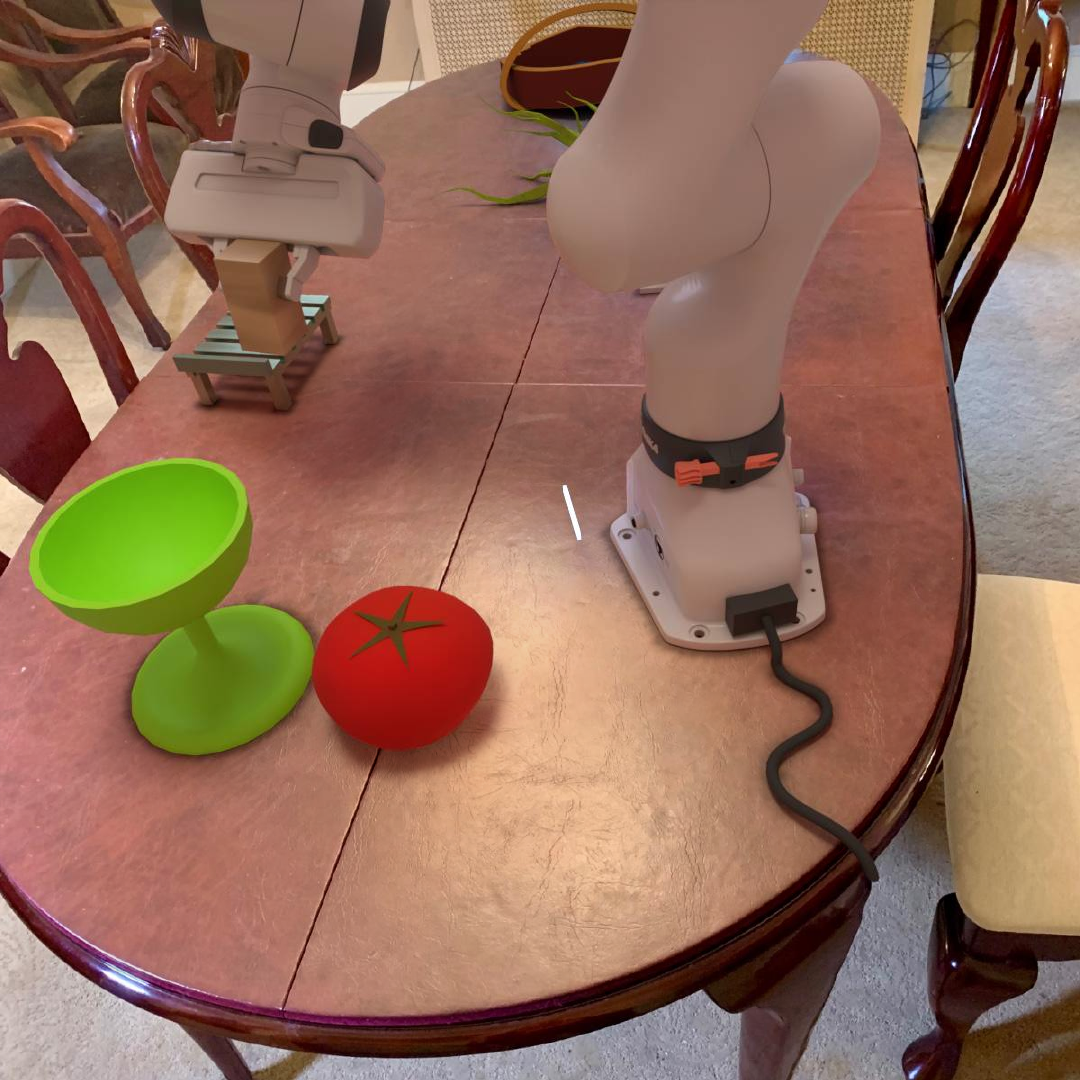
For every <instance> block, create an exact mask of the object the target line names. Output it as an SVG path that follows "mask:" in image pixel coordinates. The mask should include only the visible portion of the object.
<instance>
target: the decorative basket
mask: <svg viewBox="0 0 1080 1080" xmlns="http://www.w3.org/2000/svg"><path fill="white" fill-rule="evenodd" d="M637 8H638V5H635V4H630V3H625V2H612V1H611V2H610V1H606V2H605V1H604V2H603V1H602V2H592V3H585V4H581V5H576V6H573V7H570V8H566V9H564V10H561V11H558V12H556V13H554V14H552V15H550V16H548V17H546V18H544V19H542V20H540V21H539V22H537V23H536V24H534V25H532V27H530V28H529V29H528V30H527V31H525V32H524V33H523V34H522V35H521V36H520V37H519V39H518V40H517V41H516V42H515V43H514V44H513V46H512V47H511V49H510V50H509V52H508V54H507V56H506V57H505V58H502V59H500V60H499V65H500V76H499V88H500V89H499V90H500V92H501V95H502V97H503V99H504V100H505V102H506V104H507V105H509V106H510V107H511V108H513V109H515V110H516V111H521V110H524V111H533V110H539V109H546V110H547V109H548V110H549V109H566V108H570V107H572V108H577V107H585V106H588V105H587V104H585V103H583V102H581V101H578V100H576V99H574V98H578V99H581V100H585V101H587V102H589V103H591V104H592V105H596V104H597V105H598V104H600V103H601V102H602V100H603V98H604V96H605V94H606V92H607V90H608V88H609V86H610V84H611V81H612V79H613V77H614V75H615V72H616V70H617V68H618V65H619V63H620V60H621V58H622V55H623V53H624V50H625V47H626V45H627V42H628V39H629V36H630V33H631V30H632V27H633V26H627V25H625V26H624V25H611V24H610V25H609V24H589V23H588V24H587V23H586V24H585V23H583V24H582V23H579V24H578V23H577V24H573V25H570V26H568V27H566V28H563V29H560V30H558V31H555V32H552V33H550V34H548V35H545V36H542V37H540V38H538V39H536V40H534V41H530V40H531V39H532V38H533V37H535V35H536V34H538V33H539V32H540V31H542V30H543V29H545V28H546V27H549V26H550V25H552V24H555V23H556V22H558V21H560V20H564V19H565V18H569V17H573V16H576V15H580V14H586V13H593V12H619V13H620V12H621V13H626V14H631V15H635V16H636V12H637ZM528 42H529V43H528ZM566 91H567V92H568V93H569V94H570V95H571V96H572V97H574V98H572V97H571V96H570V95H569V94H568V93H567V92H566ZM557 101H559V102H557ZM560 102H561V103H560ZM562 103H564V104H562ZM565 104H567V105H568V106H570V107H568V106H567V105H565Z"/></svg>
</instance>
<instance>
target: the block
mask: <svg viewBox="0 0 1080 1080" xmlns="http://www.w3.org/2000/svg"><path fill="white" fill-rule="evenodd" d="M212 260H213V263H214V267H215V270H216V273H217V276H218V280H219V279H220V282H221V286H222V289H223V292H224V293H223V295H224V298H225V301H226V304H227V307H228V310H229V311H230V314H231V317H232V320H233V323H234V326H235V330H236V333H237V336H238V339H239V342H240V345H241V348H242V351H250V352H259V353H267V354H275V355H284V356H285V355H286V354H287V353H288V352H289V351H290V350H291V349H292V348H293V347H294V345H295V344H296V343H297V342H298V341H299V340H300V339H301V338H302V337H303V336H304V335H305V334H306V333H307V332H308V328H307V324H306V321H305V317H304V313H303V309H302V305H301V301H299V302H291V301H283V300H282V299H280V298H278V297H277V294H276V290H277V287H278V279H279V276H282V277H287V275H288V273H289V272H290V270H291V269H292V267H293V266H292V263H291V259H290V255H289V252H288V251H287V247H286V244H285V243H283V242H275V241H263V240H251V239H239V238H238V239H236V240H235V241H234V242H233V243H231V244H230V245H229V246H228V247H227V248H225V249H224V250H223V251H222V252H221V253H219V254H218V255H217V256H216V257H215V256H214V257H213V259H212Z"/></svg>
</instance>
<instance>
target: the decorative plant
mask: <svg viewBox="0 0 1080 1080" xmlns="http://www.w3.org/2000/svg"><path fill="white" fill-rule="evenodd" d="M566 92H567V91H566ZM567 93H568V92H567ZM568 94H569V93H568ZM476 95H477V96H478V97H479V98H480V100H482V101H483V102H484V103H485V104H486V105H487V106H488V107H490V108H491V109H492V110H494V111H495V112H497V113H499V114H501V115H506V116H512V117H514V118H516V119H518V120H520V121H521V122H533V123H537V124H539V125H542V126H543V127H547V128H548V129H551V130H553V131H531V130H515V132H516V133H517V132H518V133H524V134H525V133H527V134H531V135H536V136H541V137H552V138H554V139H555V140H557V141H559V142H560V143H562V144H563V145H564V146H566V147H568V148H569V147H570V146H571V145H572V144H573V143H574V142H575V140H576V139H577V138H578V137H579V135H580V134H581V133H582V131H583V130H584V128H583V126H582V124H581V121H580V118H579V114H578V112H577V111H576V110H575V107H570V106H568V105H567V104H565V105H567V106H568V108H570V109H571V110H572V111H573V112H574V114H575V120H576V126H577V128H578V132H577V131H576V130H573V129H571V128H567V127H566V126H564V125H563V124H561V123H559V122H557V121H555V120H553V119H552V118H550V117H548V116H547V115H544V114H543V113H540V112H535V111H531V110H515V111H508V112H507V111H504V110H503V109H502V108H500V110H499V109H497V108H495V107H494V106H492V105H491V104H489V103H488V102H486V100H485V99H483V97H481V96H480V94H478V93H476ZM569 95H570V94H569ZM570 96H571V95H570ZM571 97H572V96H571ZM572 98H574V97H572ZM574 99H576V100H578V101H581V102H583V103H585V104H587V105H586V106H587V107H589V108H590V109H591V110H592V111H593V112H594V113H595V112H596V110H597V109H598V106H595V104H591V103H589V102H587V101H585V100H581V99H578V98H574ZM557 102H559V101H557ZM560 103H561V102H560ZM562 104H564V103H562ZM521 115H522V116H525V117H521ZM584 119H585V120H587V121H588V122H589V121H590V120H591V119H588V118H584ZM502 131H503V132H504V131H505V132H513V130H509V129H501V132H502ZM509 171H510V172H512V173H514V174H516V175H518V176H521V177H523V178H524V179H525V178H526V179H528V180H537V179H539V178H551V175H552V172H553V169H547V170H543V171H538V173H537V174H536V175H533V176H530V177H529V176H526V175H524V174H523V175H522V174H520V173H518V172H515V170H512V169H509ZM548 186H549V181H547V182H545V183H543V184H541V185H539V186H536V187H534V188H532V189H529V190H526V191H524V192H521V193H519V194H515V195H513V196H510V197H507V198H505V197H498V196H492V195H486V194H484V193H482V192H480V191H477V190H475V189H473V188H470V187H462V186H461V187H460V186H459V187H455V188H451V189H448V190H445V191H442V192H440V193H438V194H436V195H435V196H432V197H430V200H432V199H434V198H436V197H438V196H440V195H442V194H444V193H448V192H453V191H458V190H462V191H466V192H470V193H472V194H474V195H475V196H477V197H479V198H481V199H482V200H484V201H489V202H494V203H497V204H498V203H499V204H503V205H511V204H517V203H518V204H519V203H526V202H534V201H538V200H540V199H543V198H545V197H547V191H548Z"/></svg>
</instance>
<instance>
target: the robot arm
mask: <svg viewBox="0 0 1080 1080" xmlns="http://www.w3.org/2000/svg"><path fill="white" fill-rule="evenodd" d="M150 2H151V3H152V4H153V5H152V6H154V8H155V9H156V10H157V12H158V14H159V15H160V16H161V17H162V19H163V20H164V21H165V22H166V24H167V25H168V26H169V28H170V29H171V30H172V31H173V32H174V34H176V35H179V36H183V37H188V38H191V39H195V40H198V41H203V42H205V43H209V44H214V45H218V44H219V45H223V46H226V47H229V48H231V49H234V50H237V51H240V52H243V53H246V54H247V55H248V59H249V70H248V75H247V77H246V80H245V82H244V83H243V86H242V87H241V90H240V93H239V99H238V105H237V110H236V116H235V122H234V126H233V133H232V137H231V138H232V139H231V140H222V141H221V140H220V141H213V140H211V139H200V140H197V141H196V143H195V144H193V145H192V146H190V147H188V149H185V150H184V151H183V152H182V154H181V157H180V162H179V166H178V169H177V171H176V173H175V176H174V179H173V181H172V185H171V188H170V191H169V194H168V198H167V202H166V205H165V206H166V207H165V210H164V214H163V219H164V220H163V222H164V224H165V227H166V228H167V231H168V232H169V233H170V234H172V235H173V236H175V237H176V238H178V239H179V240H181V241H183V242H185V243H187V244H190V245H198V246H199V245H201V246H212V253H213V256H214V258H215V257H216V256H217V255H218V254H219V253H221V252H222V251H223V250H224V249H225V248H227V247H228V246H229V245H230V244H231V243H233V242H234V241H235V240H236V239H238V238H239V239H251V240H263V241H275V242H283V243H285V244H286V247H287V251H288V253H292V257H293V258H294V259H295V260H296V261H295V263H294V264H293V265H292V266H291V267H292V269H291V270H290V272H289V273H288V275H287V277H282V276H279V279H278V287H277V290H276V294H277V297H278V298H280V299H282V300H283V301H291V302H299V301H300V297H301V295H302V290H303V285H304V284H306V282H308V280H309V278H310V277H311V276H313V274H314V273H315V272H316V270H317V269H318V267H319V263H320V257H321V256H325V257H326V256H327V257H339V258H351V259H361V260H369V259H370V258H372V257H373V256H374V255H375V254H376V253H377V251H378V250H380V246H381V242H382V238H383V237H382V236H383V230H384V221H385V206H386V205H385V194H384V190H383V188H382V186H381V185H380V184H379V183H380V182H381V181H383V179H384V176H385V172H386V163H385V162H384V160H383V159H382V157H381V156H380V154H379V153H378V152H377V151H376V150H375V149H374V147H373V146H372V145H371V144H370V143H369V142H368V141H367V140H366V139H365V138H364V137H362V136H361V135H360V134H359V133H358V132H357V131H355V130H354V129H353V128H351V127H349V126H347V125H345V124H342V117H341V116H342V115H341V99H342V95H343V93H344V91H345V92H350V91H352V90H354V89H356V88H358V87H360V86H361V85H362V84H364V83H366V82H367V81H369V80H370V79H372V78H374V76H376V75H377V73H378V71H379V69H380V65H381V61H382V54H383V47H384V39H385V32H386V26H387V20H388V19H387V18H388V13H389V10H390V7H391V0H150ZM829 2H830V0H638V5H637V6H638V8H637V12H636V15H635V16H634V20H633V23H632V26H631V27H632V30H631V33H630V36H629V39H628V42H627V45H626V47H625V50H624V53H623V55H622V58H621V60H620V63H619V65H618V68H617V70H616V72H615V75H614V77H613V79H612V81H611V84H610V86H609V88H608V90H607V92H606V94H605V96H604V98H603V100H602V102H601V103H599V105H598V106H597V108H598V109H597V110H596V112H594V114H593V115H592V116H591V118H590V119H589V120H590V121H589V120H588V123H587V125H586V126H585V127H584V128H583V131H582V133H581V134H580V133H579V134H580V135H579V137H578V138H577V139H576V140H575V142H574V143H573V144H572V145H571V146H570V147H568V148H567V149H566V150H565V152H564V153H563V154H562V155H561V156H560V157H559V158H558V160H557V161H556V162H555V164H554V167H553V169H552V170H553V172H552V175H551V177H549V181H548V182H549V186H548V191H547V196H546V204H545V211H546V212H545V213H546V222H547V228H548V231H549V235H550V239H551V241H552V245H553V246H554V249H555V251H556V252H557V254H558V256H559V257H560V259H561V261H562V262H563V263H564V265H565V266H566V267H567V268H568V270H569V271H570V272H571V273H572V274H573V275H574V276H575V277H576V278H577V279H578V280H580V281H581V282H583V283H584V284H585V285H587V286H588V287H590V288H592V289H594V290H595V291H597V292H600V293H604V294H614V293H620V292H626V291H632V290H638V289H639V288H644V287H649V286H654V285H659V284H664V283H668V282H669V283H668V284H667V286H666V287H665V288H664V289H663V290H662V291H661V293H658V295H657V297H656V298H655V300H654V301H653V303H652V305H651V306H650V308H649V310H648V313H647V316H646V318H645V322H644V326H643V327H644V328H643V335H642V336H643V337H642V338H643V362H644V385H645V386H644V387H645V392H644V394H643V396H642V398H641V406H640V407H641V409H640V412H639V424H640V430H641V440H642V441H641V443H640V444H639V446H638V447H637V449H636V450H635V451H634V453H633V454H632V455H631V456H630V457H629V459H628V460H627V461H626V512H624V513H623V514H621V515H620V516H619V517H617V518H616V519H615V520H614V521H613V522H612V523H611V525H610V531H609V537H610V540H611V542H612V543H613V545H614V547H615V549H616V551H617V553H618V555H619V557H620V559H621V561H622V563H623V564H624V566H625V568H626V571H627V573H628V574H629V576H630V578H631V580H632V582H633V584H634V585H635V587H636V590H637V591H638V594H639V595H640V597H641V599H642V601H643V603H644V605H645V607H646V608H647V611H648V612H649V615H650V616H651V618H652V620H653V621H654V624H655V626H656V627H657V630H658V631H659V634H660V635H661V636H662V638H663V640H664V641H665V642H666V643H668V644H671V645H675V646H678V647H681V648H685V649H691V650H699V651H734V650H742V649H751V648H756V647H762V646H768V645H769V647H770V653H771V656H770V666H771V669H772V671H773V673H774V674H775V676H776V677H777V678H778V679H779V680H780V681H781V682H782V683H783V684H785V685H786V686H788V687H789V688H792V689H793V690H796V691H798V692H800V693H802V694H805V695H807V696H809V697H811V698H812V699H814V700H815V701H817V702H818V704H819V705H820V714H819V717H818V718H817V720H815V722H814V723H812V724H811V725H810V726H808V727H806V728H805V729H803V730H801V731H799V732H798V733H796V734H794V735H792V736H790V737H789V738H787V739H785V740H783V741H782V742H781V743H780V744H778V745H777V746H776V747H775V748H774V749H773V750H772V751H771V752H770V754H768V755H769V756H768V757H767V760H766V762H765V775H766V779H767V784H768V786H769V787H770V790H771V791H772V793H773V795H774V796H775V797H776V798H777V799H778V801H779V802H780V803H781V804H782V805H784V806H785V807H786V808H787V809H789V810H790V811H792V812H793V813H795V814H796V815H797V816H799V817H801V818H803V819H805V820H806V821H808V822H810V823H812V824H813V825H815V826H817V827H819V828H820V829H822V830H823V831H824V832H827V833H828V834H829V835H831V836H833V837H834V838H836V839H837V840H839V842H841V843H842V844H843V845H844V846H846V848H847V849H849V851H850V852H851V853H852V854H853V855H854V857H855V858H856V860H857V861H858V862H859V864H860V867H861V869H862V870H863V873H864V876H865V877H866V879H867V880H868V881H870V882H871V883H878V882H879V880H880V873H879V871H878V867H877V865H876V863H875V861H874V859H873V857H872V856H871V854H870V853H869V851H868V850H867V848H866V847H865V845H864V844H863V843H862V842H861V841H860V840H859V839H858V838H857V837H856V836H855V835H854V834H853V833H852V832H850V831H849V830H848V829H847V828H845V827H844V826H843V825H841V824H839V823H838V822H836V821H835V820H833V819H832V818H830V817H829V816H827V815H825V814H824V813H822V812H820V811H818V810H816V809H814V808H812V807H810V806H809V805H807V804H805V803H804V802H802V801H801V800H799V799H798V798H796V797H795V796H794V795H793V794H791V793H790V792H789V791H788V790H787V788H786V787H785V786H784V785H783V783H782V781H781V779H780V774H779V765H780V763H781V761H782V760H783V758H784V757H786V755H788V754H789V753H790V752H792V751H794V750H795V749H797V748H799V747H800V746H802V745H804V744H806V743H808V742H810V741H811V740H813V739H814V738H816V737H817V736H819V735H820V734H822V732H824V731H825V730H826V729H827V727H828V726H829V725H830V724H831V722H832V719H833V716H834V707H833V706H834V705H833V703H832V700H831V698H830V697H829V695H828V694H827V693H826V692H825V691H824V690H823V689H821V688H819V687H818V686H816V685H813V684H812V683H809V682H807V681H804V680H802V679H800V678H798V677H796V676H794V675H793V674H791V673H790V672H789V671H788V670H787V669H786V668H785V666H784V665H783V655H784V654H783V647H782V644H781V642H785V641H787V640H790V639H794V638H797V637H798V636H799V637H800V636H801V635H803V634H806V633H808V632H809V631H811V630H813V629H814V628H816V627H817V626H818V625H820V624H821V623H822V622H824V620H825V618H826V600H825V594H824V587H823V580H822V575H821V574H822V573H821V568H820V561H819V555H818V548H817V542H816V536H815V534H816V533H817V532H818V513H817V508H816V507H813V506H811V504H810V500H809V498H808V497H807V496H805V495H804V494H802V493H799V492H797V491H796V489H795V486H796V485H797V486H798V485H799V486H800V485H804V481H805V478H804V477H805V476H804V474H805V473H804V469H803V468H793V465H792V458H791V446H792V437H791V436H789V435H788V434H787V433H786V431H787V416H786V411H785V403H784V401H785V400H784V396H783V393H782V391H781V388H782V377H783V369H784V359H785V352H786V345H787V344H786V343H787V338H788V337H787V336H788V333H789V327H790V322H791V319H792V315H793V312H794V309H795V305H796V304H797V300H798V298H799V295H800V293H801V290H802V287H803V285H804V283H805V280H806V278H807V276H808V274H809V271H810V269H811V267H812V265H813V262H814V261H815V258H816V256H817V254H818V252H819V249H820V248H821V246H822V244H823V242H824V240H825V239H826V237H827V235H828V233H829V231H830V229H831V228H832V226H833V224H834V223H835V221H836V220H837V218H838V216H839V214H840V213H841V212H842V211H843V209H844V208H845V207H846V205H847V204H848V202H849V201H850V200H851V199H852V198H853V196H854V195H855V194H856V193H857V192H858V190H859V189H860V188H861V187H862V186H863V185H864V184H865V183H866V182H867V180H868V179H869V178H870V176H871V174H872V173H873V171H874V168H876V167H875V166H876V165H877V162H878V158H879V155H880V152H881V151H880V149H881V142H882V123H881V117H880V111H879V108H878V104H877V101H876V99H875V97H874V95H873V93H872V91H871V89H870V87H869V86H868V83H866V81H865V80H864V79H863V78H862V76H861V75H860V74H859V73H857V71H856V70H854V69H853V68H852V67H851V66H849V65H847V64H845V63H843V62H840V61H837V60H826V59H825V60H807V61H806V60H805V61H796V62H795V61H794V62H786V61H787V59H788V58H789V57H790V55H791V54H792V53H793V51H794V50H795V49H796V48H797V47H798V46H799V45H800V44H801V43H802V42H803V41H804V40H805V38H807V36H809V34H810V33H811V32H812V31H813V29H814V28H815V26H816V25H817V23H818V22H819V20H820V19H821V17H822V16H823V14H824V12H825V11H826V9H827V7H828V5H829ZM217 288H218V291H219V292H220V293H222V294H224V292H223V289H222V286H221V282H220V279H219V278H218V284H217ZM639 290H640V289H639ZM562 489H563V495H564V498H565V502H566V505H567V508H568V512H569V515H570V518H571V522H572V526H573V529H574V532H575V535H576V539H577V540H578V541H579V540H580V541H581V540H582V535H581V530H580V526H579V523H578V519H577V516H576V513H575V510H574V506H573V503H572V500H571V496H570V494H569V490H568V487H567V485H562ZM698 636H701V637H698Z"/></svg>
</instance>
